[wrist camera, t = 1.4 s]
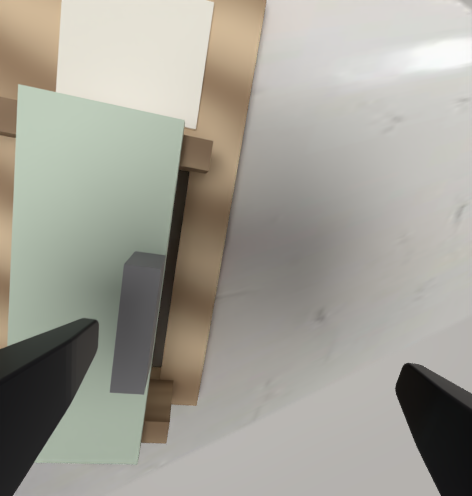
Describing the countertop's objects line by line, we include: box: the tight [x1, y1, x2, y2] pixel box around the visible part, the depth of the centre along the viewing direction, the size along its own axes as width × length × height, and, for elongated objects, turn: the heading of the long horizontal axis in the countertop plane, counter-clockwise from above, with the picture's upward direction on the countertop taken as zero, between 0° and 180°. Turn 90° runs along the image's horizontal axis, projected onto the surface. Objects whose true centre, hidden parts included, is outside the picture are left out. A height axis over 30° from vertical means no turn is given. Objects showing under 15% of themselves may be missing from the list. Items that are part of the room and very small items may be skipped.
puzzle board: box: [0, 0, 266, 443], centre depth 17 cm, size 28×23×6 cm
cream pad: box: [56, 0, 214, 130], centre depth 17 cm, size 7×8×1 cm
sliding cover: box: [7, 84, 185, 465], centre depth 14 cm, size 19×7×3 cm, turn 170°
